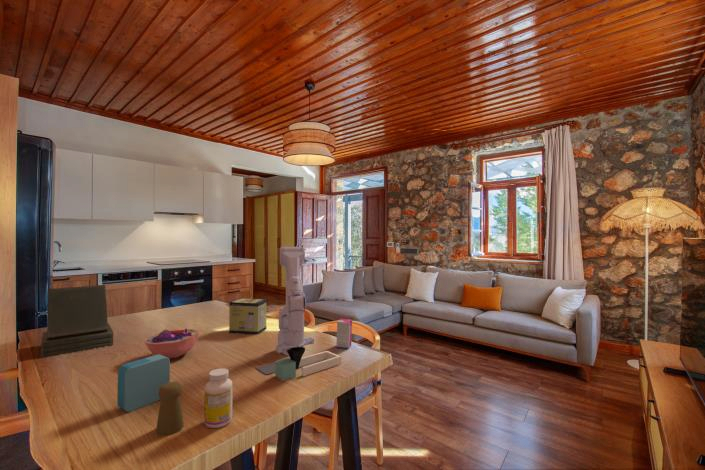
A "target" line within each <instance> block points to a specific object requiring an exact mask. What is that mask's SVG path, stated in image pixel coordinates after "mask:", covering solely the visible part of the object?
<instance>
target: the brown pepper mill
mask: <svg viewBox="0 0 705 470" xmlns="http://www.w3.org/2000/svg"><path fill="white" fill-rule="evenodd" d="M182 393H183V385H182V384H181V382H178V381H170V382H169V383H166V384H164V385H162V386H161V387H160V389H159V392H158V395H159V398H160V399H161V400H160V404H159V410H158V417H157V421H156V422H157V424H156V430H155V434H156V435H158V436H161V437H164V436H171V435H174V434H177V433H179V432H180V431H181V430H183V428H184V419H183V418H184V417H183V409H182V404H181V403H182V401H181V395H182Z"/></svg>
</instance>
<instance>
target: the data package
mask: <svg viewBox="0 0 705 470" xmlns="http://www.w3.org/2000/svg"><path fill="white" fill-rule="evenodd" d="M170 360H171V359H169V358H167V357H165V356H162V355H152V356H147V357H144V358H141V359H137V360H134V361H130V362H127V363H124V364H121V366H119V368H118V370H117V398H116V399H117V402H116V403H117V404H116V405H117V407H118V408H120V409H121V410H124V411H125V412H126V413H131V412H133V411H136V410H139V409H141V408H142V407H143V408H144V407H146V406H149V405H151V404H153V403H156V402H159V401H161V399H160V398H159V395H158V392H159V389H160V387H161V386H162V385H164V384H166V383H169V382H171V380H170V379H171V378H170V377H171V376H170V375H171V361H170Z"/></svg>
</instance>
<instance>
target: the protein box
mask: <svg viewBox="0 0 705 470" xmlns="http://www.w3.org/2000/svg"><path fill="white" fill-rule="evenodd" d="M228 309H229V312H228V314H229V316H228V317H229V318H228V320H229V321H228V322H229V325H228V333H229V334H236V333H238V334H239V335H255V334H258V335H259V334H261V333H263V332H264V331H265V330H267V299H265V298H264V299H262V298H261V299H260V298H237V299H234V300H232V301H229V307H228Z"/></svg>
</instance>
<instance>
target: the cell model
mask: <svg viewBox="0 0 705 470" xmlns="http://www.w3.org/2000/svg"><path fill="white" fill-rule="evenodd" d="M198 340H199V331H198V330H196V329H193V328H191V329H188V328H185V329H175V330H174V329H173V330H169V329H163V330H162V331H160V332H157V333H155V334H153V335H150V336H148V337H146V338H145V339H144V340H143V343H144V345H145V347H146V348H147V349H148V351H150V352H151V353H152V356H154V355H162V356H165V357H167V358H169V359H170V360H172V359H176V358H178V357H180V356H183V355H184V354H186V353H188V352H189V351H191V350H192V349H193V348H194V347H195V345H196V344H197V341H198Z"/></svg>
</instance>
